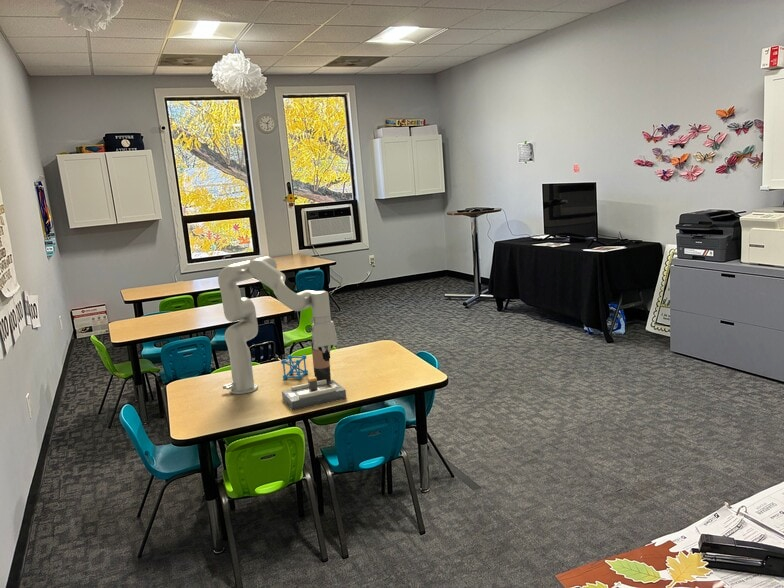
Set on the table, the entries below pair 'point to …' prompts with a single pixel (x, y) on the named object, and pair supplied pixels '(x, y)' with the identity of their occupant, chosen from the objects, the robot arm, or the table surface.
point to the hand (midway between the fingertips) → (326, 360)
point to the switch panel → (313, 394)
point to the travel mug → (320, 365)
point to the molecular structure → (294, 367)
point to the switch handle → (312, 383)
